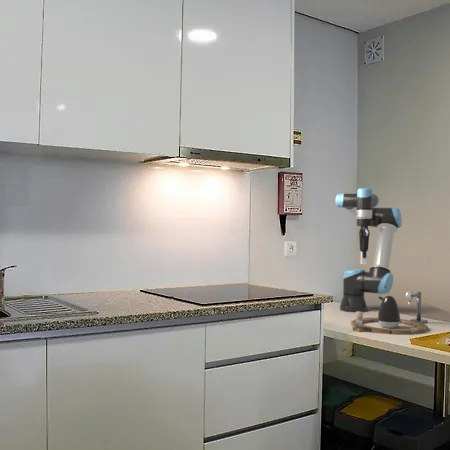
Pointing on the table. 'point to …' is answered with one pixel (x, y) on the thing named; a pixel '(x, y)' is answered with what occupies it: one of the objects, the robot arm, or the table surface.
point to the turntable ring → (360, 327)
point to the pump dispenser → (388, 312)
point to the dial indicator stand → (409, 297)
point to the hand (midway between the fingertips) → (363, 264)
